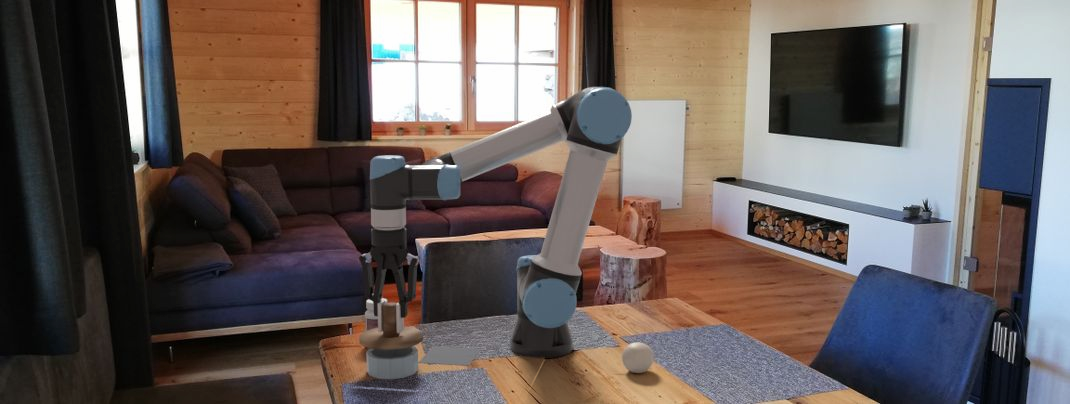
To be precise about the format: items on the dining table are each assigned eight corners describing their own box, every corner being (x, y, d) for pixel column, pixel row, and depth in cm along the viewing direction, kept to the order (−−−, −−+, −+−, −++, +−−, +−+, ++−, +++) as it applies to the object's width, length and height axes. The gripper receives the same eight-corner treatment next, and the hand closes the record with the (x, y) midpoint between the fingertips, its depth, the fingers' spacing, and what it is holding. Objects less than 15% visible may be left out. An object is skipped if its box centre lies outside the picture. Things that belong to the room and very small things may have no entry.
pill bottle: (395, 346, 210) (394, 301, 208) (371, 350, 207) (370, 305, 205) (385, 339, 215) (383, 295, 213) (361, 344, 212) (360, 299, 210)
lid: (431, 332, 196) (430, 298, 195) (411, 351, 182) (411, 315, 181) (372, 328, 198) (371, 295, 197) (349, 347, 185) (348, 311, 184)
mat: (481, 350, 206) (481, 348, 206) (469, 367, 195) (469, 365, 195) (433, 348, 208) (433, 346, 208) (418, 364, 197) (418, 362, 197)
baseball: (659, 370, 193) (660, 342, 192) (641, 379, 187) (642, 350, 186) (634, 364, 197) (635, 336, 196) (616, 372, 191) (616, 343, 190)
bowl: (423, 365, 196) (423, 344, 195) (408, 382, 185) (408, 360, 184) (378, 362, 198) (377, 342, 197) (360, 379, 187) (359, 357, 186)
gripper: (430, 225, 189) (432, 327, 192) (358, 222, 192) (361, 323, 195) (420, 231, 181) (422, 338, 185) (345, 228, 184) (349, 333, 188)
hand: (391, 330), depth 190 cm, fingers closed on lid, 4 cm apart
